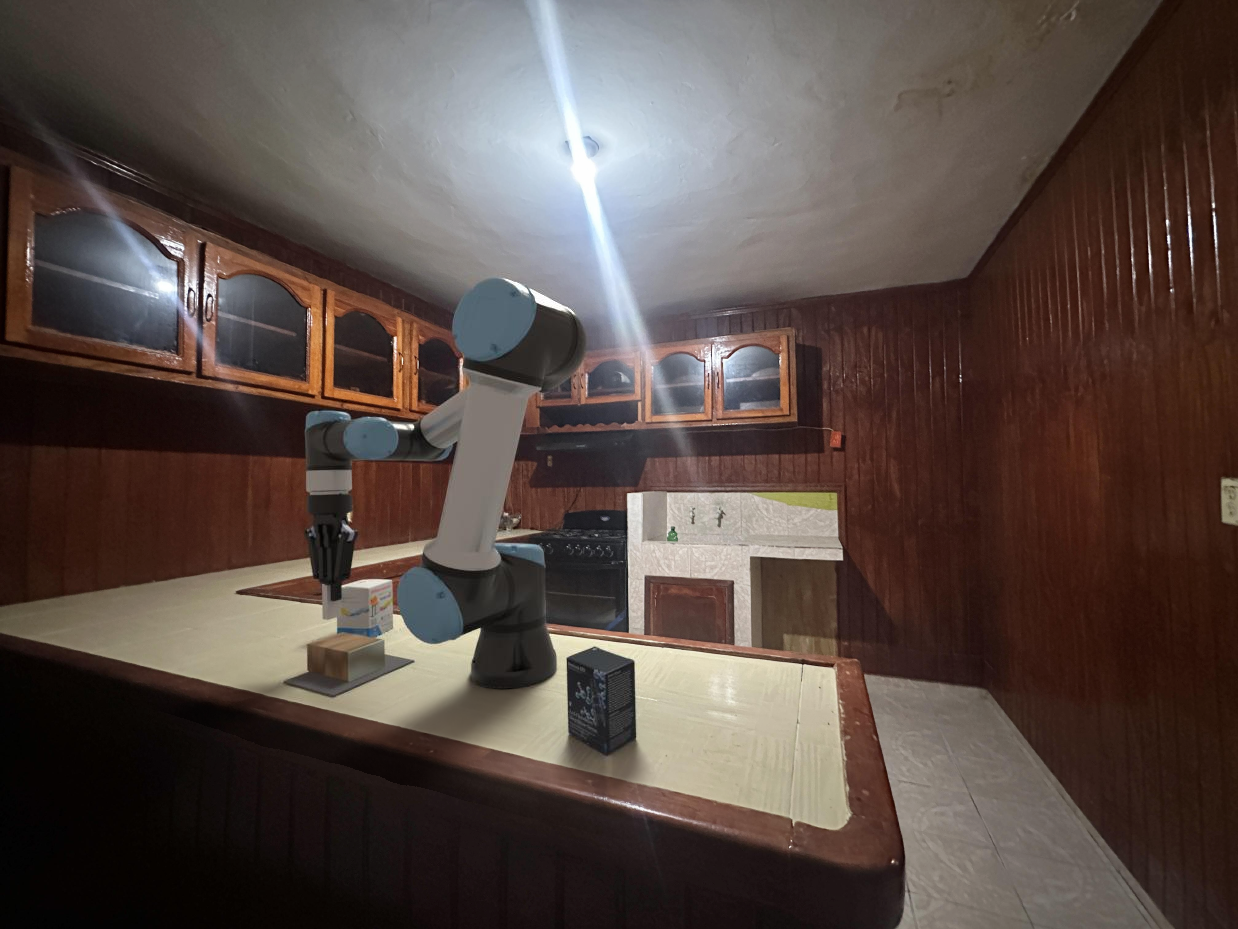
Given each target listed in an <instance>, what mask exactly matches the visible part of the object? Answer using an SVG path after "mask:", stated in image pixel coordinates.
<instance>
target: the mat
mask: <svg viewBox="0 0 1238 929" xmlns="http://www.w3.org/2000/svg"><path fill="white" fill-rule="evenodd" d="M412 663H415V660H414V659H410V658H406V657H401V656H396V655H390V654H386V653H385V667H383V668H381V669H378V670H376V671H374V672H371V673H369V674H367V675H364V676H362V677H359V678H357V679H355V680H352V681H346V680H342V679H338V678H333V677H329V676H325V675H321V674H317V673H313V672H309V671H306V672H304V673H302V674H299V675H296V676H294V677H291V678H289V679H285V680H283V681H282V682H283V684H287V685H290V686H294V687H297V688H300V689H304V690H307V691H312V692H315V693H318V694H321V695H325V696H329V697H332V698H336V697H338V696H339V695H342V694H344V693H346V692H349V691H351V690H353V689H355V688H357V687H358V688H359V687H360V686H362V685H365V684H367V683H369V682H371V681H374V680H376V679H378V678H381V677H382V676H385V675H388V674H390V673H392V672H395V671H396V670H399V669H402V668H403V667H406V666H407V665H410V664H412Z"/></svg>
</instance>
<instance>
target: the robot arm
mask: <svg viewBox="0 0 1238 929" xmlns="http://www.w3.org/2000/svg"><path fill="white" fill-rule="evenodd" d="M453 315H454V316H453V317H452V318H453V319H452V325H451V326H452V327H451V328H452V329H451V331H452V333H451V334H452V337H453V339H455V340H454V345H455V347H456V349H457V350H458V351H459V352H460V353H461V354H462V355H463V356H464V358H463V362H462V367H461V370H462V372H463V373H464V375H465V377H466V379H467V380H468V382H469V385H467V386H466V387H465V388H464V389H462V390H460V391H459V392H457V393H456V394H455V395H454V396H452V397H450V398H449V399H447V400H446V401H444V402H443V403H442V404H440V405H438V406H437V407H436V408H435V409H433V410H431V411H430V412H429V413H427V414H425V415H424V416H423V417H421V418H419V419H418V420H417V421H415V422H405V421H404V422H403V421H390V420H388V419H386V418H385V417H384V418H383V417H381V416H380V417H377V416H371V417H370V416H362V417H360V418H359V417H358V418H353V419H352V417H351V415H350V414H349V413H347V412H344V411H336V410H320V411H319V410H315V411H310V412H308V413H307V415H306V416H305V429H304V438H305V441H304V442H305V443H304V444H305V465H306V470H305V471H306V472H305V475H306V476H305V487H306V488H305V489H306V490H305V491H306V492H307V493H309V494H308V495H307V496H306V514H308V515H310V516H313V520H312V523H311V524H312V526H311V527H310V528H307V529H304V531H303V534H304V537H305V539H306V542H307V548H308V552H309V560H310V567H311V573H312V578H313V580H318V582H319V583H320V584H321V600H322V602H321V604H322V619H323V620H326V621H329V620H331V619H337V617H339V616H341V598H342V583H343V582H344V581H346V580H349V579H351V574H352V573H351V571H352V566H353V558H354V551H355V545H356V544H355V542H356V540H357V538H358V536H359V530H358V529H352V528H351V527H350V522H349V520H348V514H349V513H352V512H353V507H354V506H353V495H352V493H349V491H351V490H353V483H352V482H353V480H352V479H353V476H352V470H353V466H352V464H353V461H416V462H418V461H419V462H420V461H421V462H422V461H423V462H433V461H442V460H444V459H446V458H447V457H448V456H449V454H450V452H451V451H452V450H453V446H454V444H455V443H456V442H457V443H456V448H455V453H454V457H453V463H452V467H451V471H450V476H449V480H448V485H447V489H446V493H445V494H446V495H445V499H444V503H443V508H442V513H441V517H440V523H439V525H438V526H439V527H438V531H437V536H436V537H435V538H433V539H431V540H429V541H428V542H427V543H425V544H424V547H423V550H422V554H421V560H420V564H419V566H414V567H411V568H409V570H407V572H405V573H403V574H402V575H401V577H400V579H399V581H398V585H397V591H396V599H397V607H398V612H399V613H400V616H401V618H402V620H403V623H404V625H405V627H406V628H407V629H408V631H409V632H410V633H411V634H412V635H413V637H415V638H416V639H418V640H420V641H421V642H423V643H425V644H429V645H438V644H442V643H446V642H449V641H455V640H457V639H458V638H461V637H462V636H464V635H466V634H469V633H471V632H473V631H474V632H475V630H479V629H480V631H479V635H478V639H477V642H476V646H475V650H474V654H473V658H472V660H471V662H470V678H471V680H472V681H473V683H475V684H477V685H478V686H482V687H485V688H489V689H490V688H492V689H513V688H522V687H527V686H531V685H534V684H537V683H541V682H542V681H544V680H547V679H548V678H550V677H551V676H552V675H553V674H555V672H556V671H557V668H558V663H557V652H556V650H555V649H554V645H553V642H552V639H551V636H550V632H549V630H548V627H547V626H548V625H547V617H546V616H547V614H546V610H547V609H546V608H547V606H546V568H547V567H546V563H545V553H544V549H543V548H542V546H540V545H538V544H536V543H535V544H534V543H517V542H496V539H497V535H498V532H499V531H498V530H499V527H500V522H501V518H502V514H503V509H504V506H505V500H506V496H507V493H508V488H509V485H510V484H509V483H510V479H511V474H512V471H513V466H514V462H515V459H516V458H515V457H516V454H517V450H518V445H519V441H520V436H521V431H522V428H523V425H524V419H525V416H526V411H527V406H528V402H529V400H530V398H531V396H533V395H535V394H537V393H538V394H541V395H545V394H547V393H548V392H550V391H552V390H554V389H555V388H557V387H559V386H560V385H562V384H563V383H564V382H566V381H567V380H569V379H571V377H572V376H573V375H574V374H575V373H576V372H577V370H579V368H580V367H581V365H582V363H583V362H584V360H585V357H586V354H587V349H588V348H587V347H588V339H587V338H588V336H587V332H586V328H585V326H584V325H583V322H582V321H581V319H580V317H579V316H578V315H577V314H576V313H575V312H574V311H572V310H571V309H570V308H568V307H567V306H565V305H563V304H561V303H558V302H556V301H554V300H552V299H550V298H549V297H547V296H546V295H543V294H541V293H539V292H537V291H535V290H533V289H531V288H530V287H528V286H527V285H526V284H522V283H519V282H515V281H512V280H509V279H508V278H507V279H506V278H504V277H490V278H486V279H483V280H481V281H479V282H477V283H476V284H475V285H474V286H473V288H469V289H468V290H467V291H466V292H465V294H464V295H463V296H462V298H461V299H460V301H459V303H458V305H457V307H456V309H455V312H454V314H453Z"/></svg>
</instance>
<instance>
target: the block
mask: <svg viewBox="0 0 1238 929" xmlns="http://www.w3.org/2000/svg"><path fill="white" fill-rule="evenodd" d="M385 654H386V649H385V639H382V638H377V637H374V638H372V637H367V636H361V635H356V634H350V633H345V632H342V633H339V634H337V633H336V634H333V635H330V636H326V637H324V638H321V639H318V640H314V641H312V642H308V643H306V664H307V666H306V668H307V669H306V670H307V671H306V672H313V673H317V674H321V675H325V676H329V677H333V678H338V679H342V680H346V681H352V680H355V679H357V678H359V677H362V676H364V675H367V674H369V673H371V672H374V671H376V670H378V669H381V668H383V667H385Z"/></svg>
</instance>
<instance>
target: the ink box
mask: <svg viewBox="0 0 1238 929" xmlns="http://www.w3.org/2000/svg"><path fill="white" fill-rule="evenodd" d="M393 595H394V594H393V580H392V579H384V578H383V579H379V578H377V579H376V578H369V579H360V580H357V581H353V582H350V583H346V584H343V585H342V598H341V616H339V617H336V634H339V633H342V632H345V633H350V634H356V635H361V636H367V637H372V638H377V637H378V636H381V635H382V634H385V633H386V631H387V632H388V631H391V630H393V629H394V610H393V609H394V608H393V607H394V605H393V603H394V602H393V601H394V600H393V598H394V597H393Z"/></svg>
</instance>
